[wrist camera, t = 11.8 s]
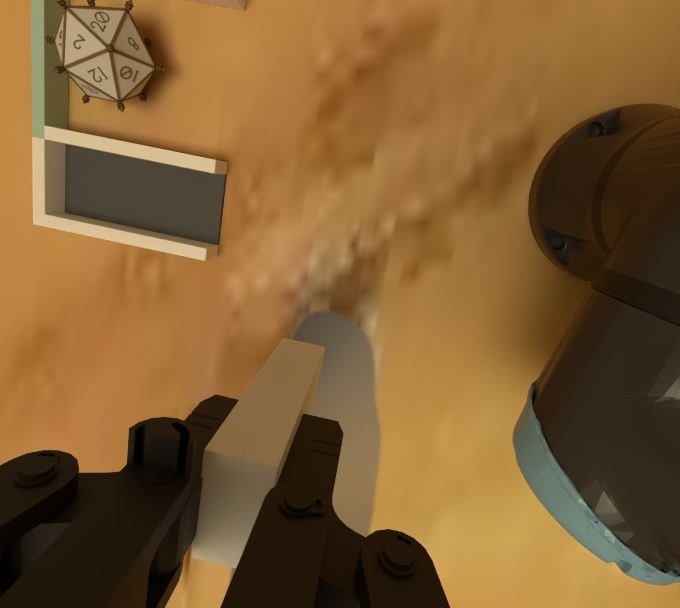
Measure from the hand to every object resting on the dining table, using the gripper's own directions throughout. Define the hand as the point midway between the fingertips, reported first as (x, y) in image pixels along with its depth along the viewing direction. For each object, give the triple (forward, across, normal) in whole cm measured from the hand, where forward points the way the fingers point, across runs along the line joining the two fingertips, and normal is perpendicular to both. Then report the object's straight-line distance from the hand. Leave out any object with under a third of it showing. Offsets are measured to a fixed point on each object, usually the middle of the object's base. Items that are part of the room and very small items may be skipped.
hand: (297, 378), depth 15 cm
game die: (+29, +24, -13) cm, 40 cm away
